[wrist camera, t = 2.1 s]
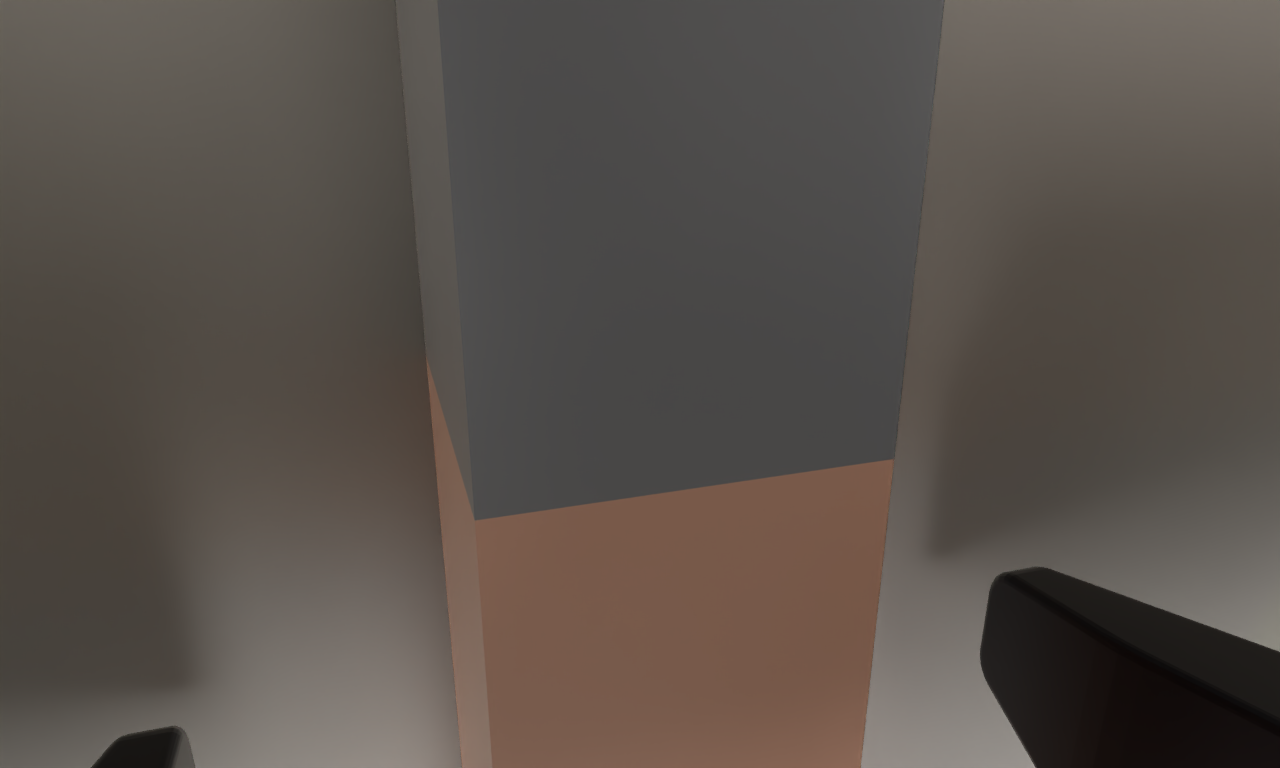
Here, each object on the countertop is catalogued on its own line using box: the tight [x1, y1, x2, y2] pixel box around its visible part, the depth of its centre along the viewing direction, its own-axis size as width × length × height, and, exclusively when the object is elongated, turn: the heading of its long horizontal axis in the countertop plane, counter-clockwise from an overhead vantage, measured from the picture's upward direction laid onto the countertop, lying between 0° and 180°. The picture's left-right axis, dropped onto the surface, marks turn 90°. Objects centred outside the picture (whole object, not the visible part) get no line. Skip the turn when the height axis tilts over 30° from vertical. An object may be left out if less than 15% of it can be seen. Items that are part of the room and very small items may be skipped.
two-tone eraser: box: [395, 0, 944, 768], centre depth 8 cm, size 11×2×2 cm, turn 0°
